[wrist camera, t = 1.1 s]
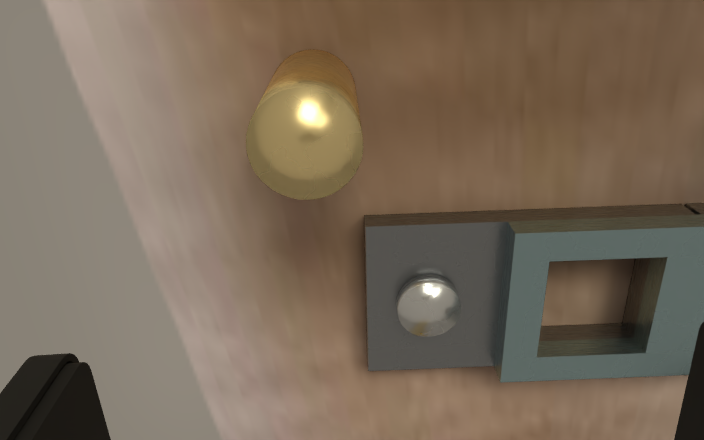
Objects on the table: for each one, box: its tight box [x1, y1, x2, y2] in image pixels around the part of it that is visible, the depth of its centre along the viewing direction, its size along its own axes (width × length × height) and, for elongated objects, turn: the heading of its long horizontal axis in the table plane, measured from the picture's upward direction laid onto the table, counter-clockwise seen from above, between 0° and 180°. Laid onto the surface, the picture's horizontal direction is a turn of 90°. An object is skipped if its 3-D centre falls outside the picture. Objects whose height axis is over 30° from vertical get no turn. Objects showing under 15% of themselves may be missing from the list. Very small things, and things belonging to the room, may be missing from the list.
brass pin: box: [246, 50, 363, 200], centre depth 26 cm, size 4×4×9 cm
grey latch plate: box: [364, 204, 696, 371], centre depth 34 cm, size 10×18×2 cm, turn 92°
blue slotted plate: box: [494, 203, 704, 382], centre depth 33 cm, size 10×18×4 cm, turn 92°
